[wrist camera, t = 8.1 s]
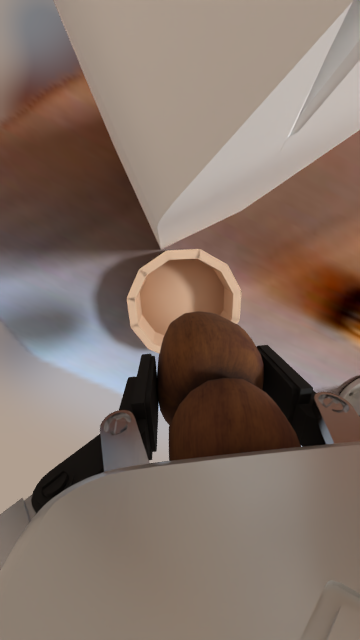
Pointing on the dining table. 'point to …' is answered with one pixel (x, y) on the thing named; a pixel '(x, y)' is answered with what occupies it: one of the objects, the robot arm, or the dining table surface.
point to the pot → (180, 292)
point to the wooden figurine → (216, 391)
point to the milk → (217, 96)
